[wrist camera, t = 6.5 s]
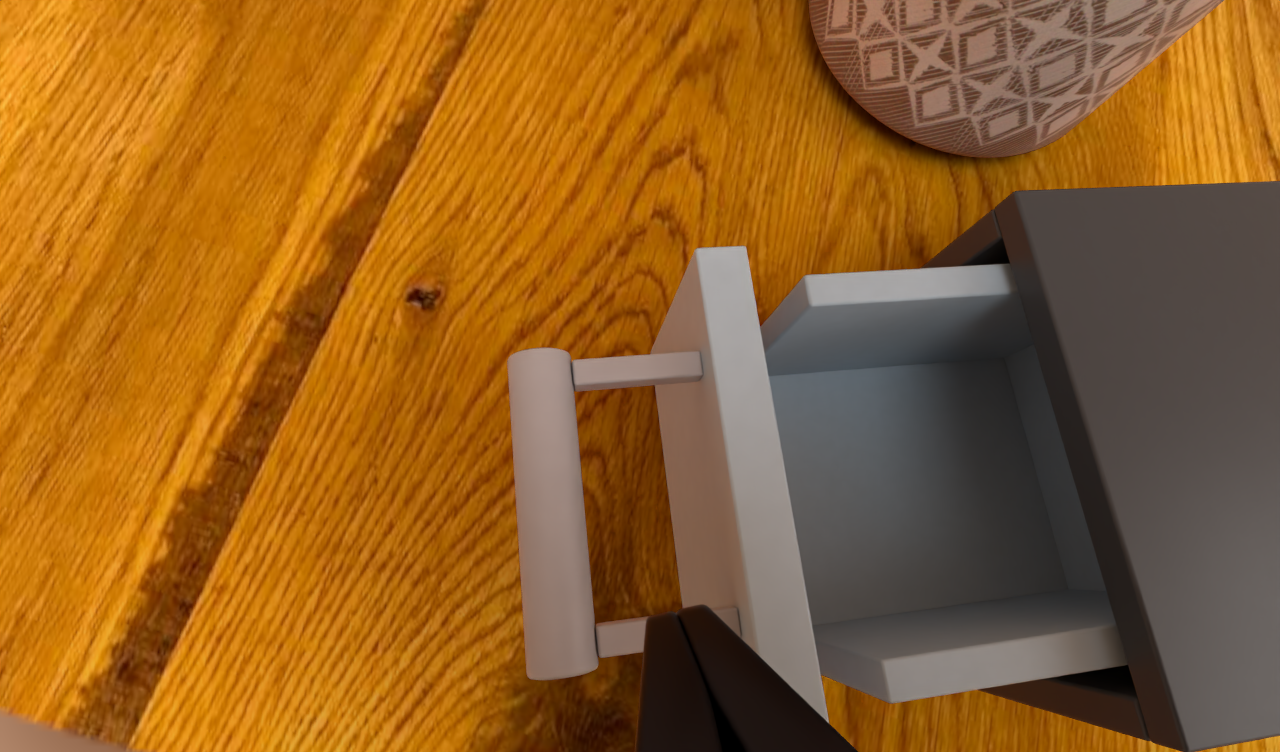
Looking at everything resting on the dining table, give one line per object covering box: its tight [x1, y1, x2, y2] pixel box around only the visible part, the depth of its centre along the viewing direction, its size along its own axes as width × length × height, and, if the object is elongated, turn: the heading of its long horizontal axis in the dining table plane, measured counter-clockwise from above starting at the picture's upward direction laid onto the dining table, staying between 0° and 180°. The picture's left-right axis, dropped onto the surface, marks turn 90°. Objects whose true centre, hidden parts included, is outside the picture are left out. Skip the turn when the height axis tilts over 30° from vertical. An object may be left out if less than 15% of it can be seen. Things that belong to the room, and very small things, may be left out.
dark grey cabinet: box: [920, 181, 1280, 752], centre depth 18 cm, size 14×12×9 cm
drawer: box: [507, 246, 1128, 723], centre depth 17 cm, size 17×10×7 cm, turn 97°
